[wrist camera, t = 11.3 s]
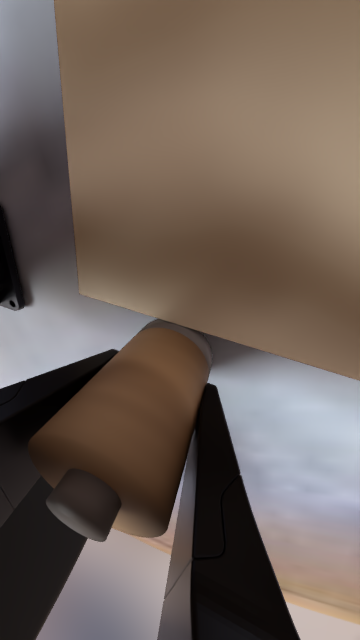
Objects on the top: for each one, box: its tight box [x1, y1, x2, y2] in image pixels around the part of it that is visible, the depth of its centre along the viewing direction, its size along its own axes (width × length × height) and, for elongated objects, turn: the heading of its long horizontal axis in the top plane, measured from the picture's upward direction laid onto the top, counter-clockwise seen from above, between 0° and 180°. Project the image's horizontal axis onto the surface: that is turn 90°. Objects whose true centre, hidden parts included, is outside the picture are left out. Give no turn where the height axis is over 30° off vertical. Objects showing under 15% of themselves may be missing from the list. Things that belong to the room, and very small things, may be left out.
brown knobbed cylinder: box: [28, 319, 213, 542], centre depth 7 cm, size 4×4×7 cm
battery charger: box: [0, 475, 88, 640], centre depth 14 cm, size 7×4×11 cm, turn 49°
